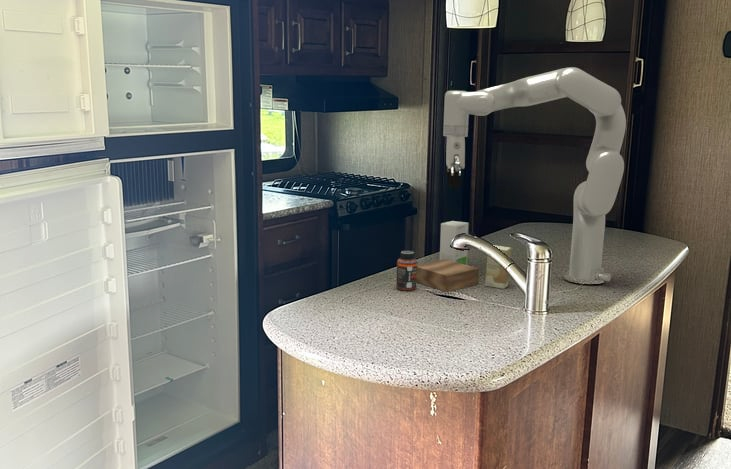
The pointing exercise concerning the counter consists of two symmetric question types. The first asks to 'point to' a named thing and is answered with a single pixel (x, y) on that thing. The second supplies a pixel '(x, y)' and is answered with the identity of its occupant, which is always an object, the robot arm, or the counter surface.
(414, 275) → the supplement bottle
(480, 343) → the counter surface
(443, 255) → the skincare box
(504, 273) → the skincare box
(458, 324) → the counter surface
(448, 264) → the walnut block
